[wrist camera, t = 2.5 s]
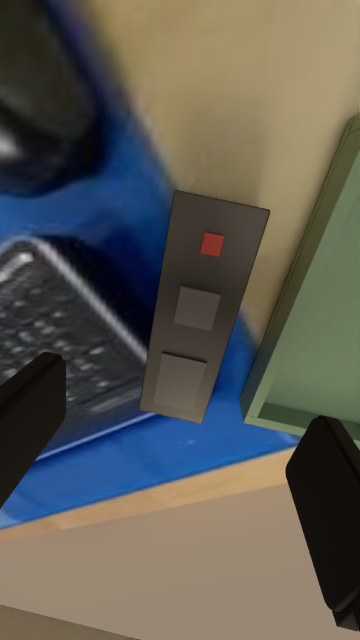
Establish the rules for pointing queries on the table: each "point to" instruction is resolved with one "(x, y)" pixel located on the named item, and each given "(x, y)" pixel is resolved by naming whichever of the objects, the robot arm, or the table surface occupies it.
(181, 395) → the remote
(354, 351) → the tray
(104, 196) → the table surface
